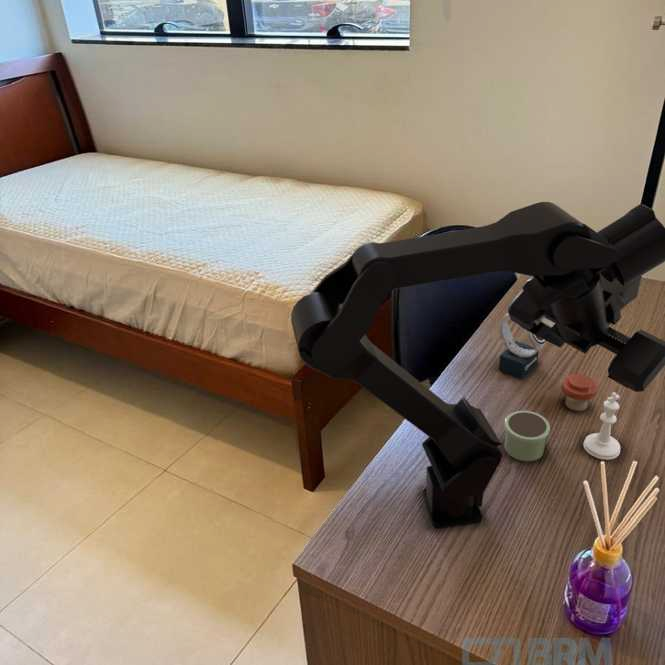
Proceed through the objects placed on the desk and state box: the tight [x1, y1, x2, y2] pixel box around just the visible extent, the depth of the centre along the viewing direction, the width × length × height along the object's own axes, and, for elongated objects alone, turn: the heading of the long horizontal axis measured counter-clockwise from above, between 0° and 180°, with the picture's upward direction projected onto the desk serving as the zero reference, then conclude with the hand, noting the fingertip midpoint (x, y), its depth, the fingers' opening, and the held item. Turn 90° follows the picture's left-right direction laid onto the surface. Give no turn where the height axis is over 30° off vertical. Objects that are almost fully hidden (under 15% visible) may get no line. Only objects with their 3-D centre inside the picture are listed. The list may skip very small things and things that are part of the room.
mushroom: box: [560, 373, 599, 412], centre depth 95 cm, size 5×5×5 cm
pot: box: [503, 410, 551, 462], centre depth 88 cm, size 6×6×5 cm
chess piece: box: [582, 391, 621, 461], centre depth 85 cm, size 5×5×10 cm
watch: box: [497, 312, 547, 380], centre depth 103 cm, size 6×8×11 cm
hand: (591, 361), depth 80 cm, fingers open, 9 cm apart
